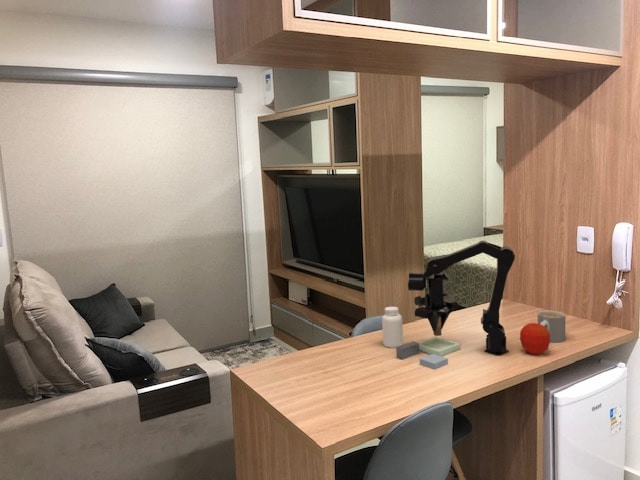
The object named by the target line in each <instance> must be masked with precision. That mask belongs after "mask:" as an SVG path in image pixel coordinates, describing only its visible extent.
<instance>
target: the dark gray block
mask: <svg viewBox="0 0 640 480" xmlns="http://www.w3.org/2000/svg"><path fill="white" fill-rule="evenodd" d="M395 351H396V358H397V359H400V360H405V359H407V358H410V357H413V356H416V355H419V354H420V351H419V342H417V341H415V340H414V341H411V342H408V343H405V344H404V343H403V345H401V346H398V347H396V350H395Z"/></svg>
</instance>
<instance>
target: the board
mask: <svg viewBox="0 0 640 480" xmlns="http://www.w3.org/2000/svg"><path fill="white" fill-rule="evenodd" d="M418 361H419V365H421V366H423V367H427V368H430V369H433V370H437V369H440V368H442V367H445V366H446V365H447V366H448V365H449V359H448V358H447V357H445V356H442V357H441V356H438V355H435V354H427V355H426V356H423V357H420V358H419V360H418Z"/></svg>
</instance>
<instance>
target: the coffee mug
mask: <svg viewBox="0 0 640 480" xmlns="http://www.w3.org/2000/svg"><path fill="white" fill-rule="evenodd" d="M537 324H541V325H543V326H544V327H546V328H547V330H548V331H549V333H550V343H549V344H557V343H559V344H560V343H564V342H565V341H566V313H564V312H562V311H559V310H558V311H557V310H541V311H538V312H537Z"/></svg>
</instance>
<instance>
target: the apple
mask: <svg viewBox="0 0 640 480" xmlns="http://www.w3.org/2000/svg"><path fill="white" fill-rule="evenodd" d="M519 333H520V334H519V340H520V345H521V348H522V349H524V350H525V351H526V352H527V353H528V354H530V355H536V356H537V355H541V354H543V353H544V352H546V351H547V350H548V349H549V346H550V344H551V343H550V333H549V331H548V330H547V328H546V327H544V326H543V325H541V324H538V322H537V323H536V322H530V323H526V325H525V324H524V326H523V327H522V328H521V330H520V331H519Z"/></svg>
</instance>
